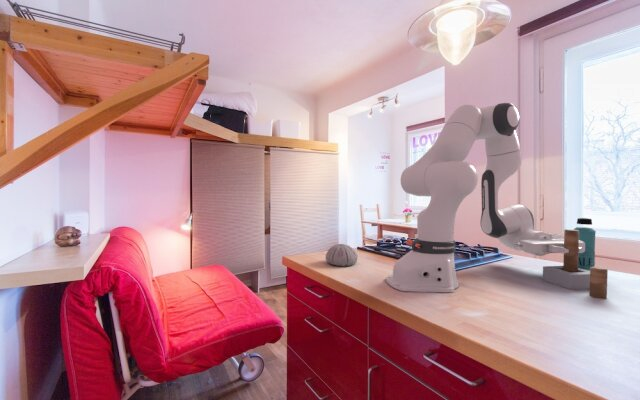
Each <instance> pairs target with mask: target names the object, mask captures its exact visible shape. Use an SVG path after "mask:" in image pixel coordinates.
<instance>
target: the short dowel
mask: <svg viewBox="0 0 640 400" xmlns="http://www.w3.org/2000/svg"><path fill="white" fill-rule="evenodd" d="M608 270H609V269H608V268H605V267H599V266H594V267H590V289H588V290H589V292H588V293H589V296H590V297H592V298H595V299H596V298H597V299H608V272H609V271H608Z"/></svg>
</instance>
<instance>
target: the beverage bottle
mask: <svg viewBox="0 0 640 400" xmlns="http://www.w3.org/2000/svg"><path fill="white" fill-rule="evenodd" d="M592 221H593V220H592V218H586V217H579V218H577V221H576V225H586V227H584V226H576V227H575V228H573V229H572V230H579V240H580V241H583V242H584V243H585V252H583V253H578V268H581V269H585V270H588V271H590V267H595V264H596V249H595V248H596V230H595V229H593V228H592V227H587V226H588V225H589V226H591V225H593V222H592Z"/></svg>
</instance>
